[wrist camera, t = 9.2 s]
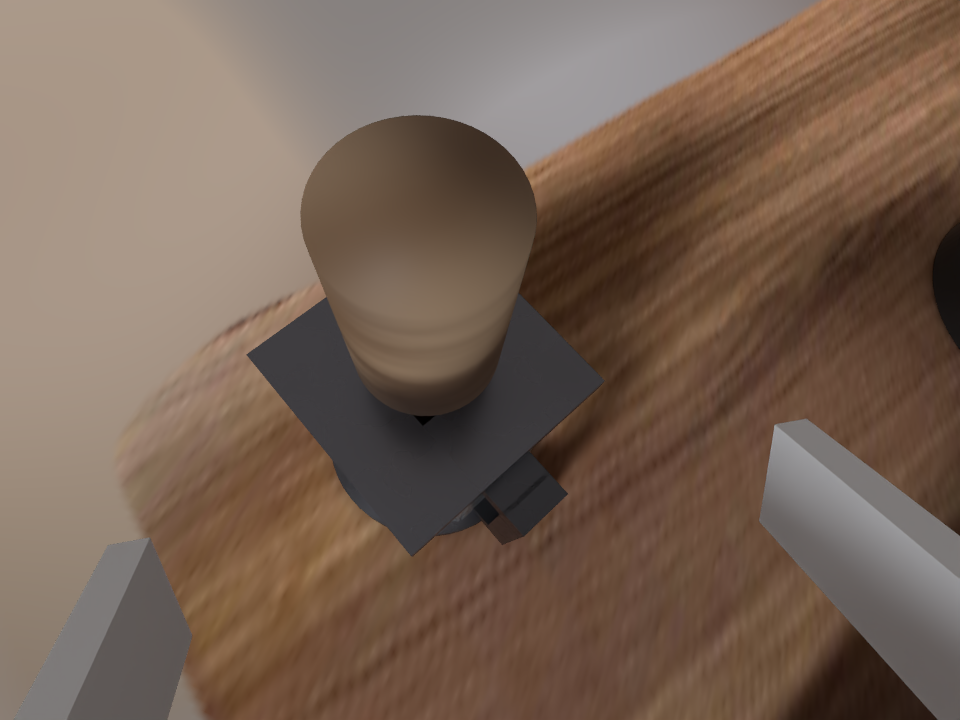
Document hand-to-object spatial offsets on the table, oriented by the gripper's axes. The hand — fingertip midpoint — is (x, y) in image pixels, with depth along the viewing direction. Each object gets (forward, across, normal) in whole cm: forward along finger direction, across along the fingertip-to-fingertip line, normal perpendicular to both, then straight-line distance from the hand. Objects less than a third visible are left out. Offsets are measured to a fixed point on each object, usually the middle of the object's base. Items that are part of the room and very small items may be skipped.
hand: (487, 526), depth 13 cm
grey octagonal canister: (+19, 0, +10) cm, 21 cm away
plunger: (+14, 0, +5) cm, 15 cm away
